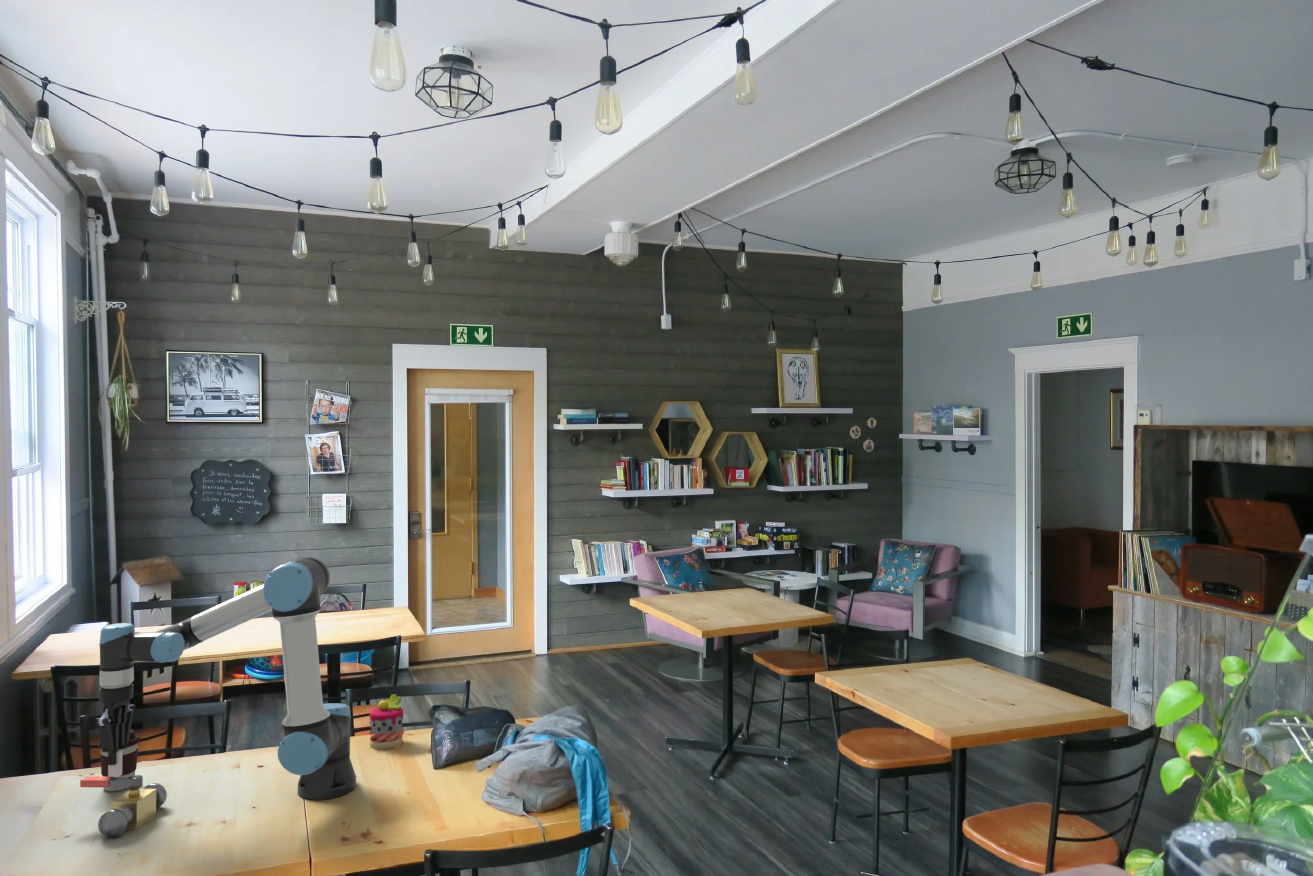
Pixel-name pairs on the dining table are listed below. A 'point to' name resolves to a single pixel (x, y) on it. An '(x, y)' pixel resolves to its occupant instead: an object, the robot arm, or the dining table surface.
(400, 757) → the dining table surface
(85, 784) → the lever
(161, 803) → the valve
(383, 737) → the cake
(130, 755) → the coffee cup
